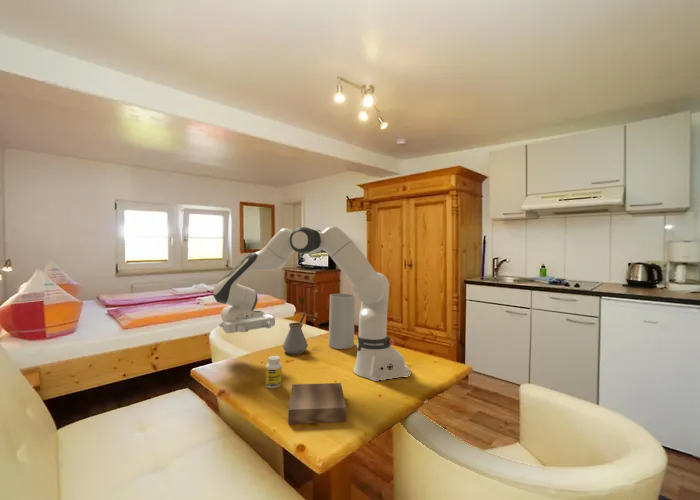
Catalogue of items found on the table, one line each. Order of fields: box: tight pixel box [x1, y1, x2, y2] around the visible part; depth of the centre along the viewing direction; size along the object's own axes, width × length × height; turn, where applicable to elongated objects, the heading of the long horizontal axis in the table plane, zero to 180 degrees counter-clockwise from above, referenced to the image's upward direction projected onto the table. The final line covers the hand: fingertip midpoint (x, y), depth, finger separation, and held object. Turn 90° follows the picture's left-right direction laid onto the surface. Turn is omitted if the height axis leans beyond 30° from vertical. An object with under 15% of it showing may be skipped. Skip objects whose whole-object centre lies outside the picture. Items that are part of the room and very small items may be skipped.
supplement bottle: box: [264, 355, 282, 389], centre depth 111 cm, size 5×5×10 cm
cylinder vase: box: [328, 293, 356, 350], centre depth 157 cm, size 12×12×25 cm
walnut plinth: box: [287, 382, 347, 425], centre depth 96 cm, size 16×16×4 cm
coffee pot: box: [282, 312, 308, 355], centre depth 152 cm, size 21×12×15 cm, turn 172°
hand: (258, 327), depth 120 cm, fingers open, 8 cm apart
